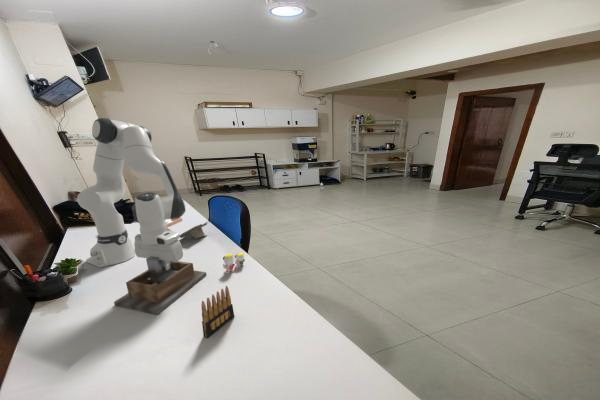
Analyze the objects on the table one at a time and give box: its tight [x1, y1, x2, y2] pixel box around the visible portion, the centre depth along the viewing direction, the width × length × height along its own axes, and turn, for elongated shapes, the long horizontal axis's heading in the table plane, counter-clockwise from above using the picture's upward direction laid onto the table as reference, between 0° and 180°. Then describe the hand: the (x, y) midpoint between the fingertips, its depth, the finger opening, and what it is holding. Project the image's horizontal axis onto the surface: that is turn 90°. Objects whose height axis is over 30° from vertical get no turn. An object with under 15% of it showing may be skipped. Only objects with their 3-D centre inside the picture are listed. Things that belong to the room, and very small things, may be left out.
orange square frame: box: [166, 217, 183, 228], centre depth 182 cm, size 16×16×2 cm
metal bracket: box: [145, 256, 178, 284], centre depth 99 cm, size 8×8×10 cm
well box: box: [113, 260, 207, 316], centre depth 100 cm, size 20×26×8 cm
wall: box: [179, 220, 211, 239], centre depth 152 cm, size 19×10×17 cm
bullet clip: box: [201, 285, 235, 339], centre depth 78 cm, size 11×2×12 cm, turn 147°
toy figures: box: [222, 252, 246, 274], centre depth 114 cm, size 12×4×8 cm, turn 144°
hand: (161, 268), depth 99 cm, fingers closed on metal bracket, 4 cm apart
